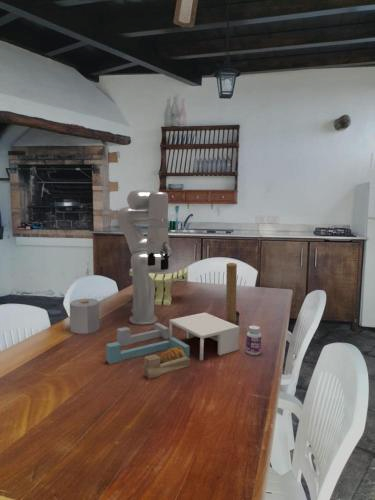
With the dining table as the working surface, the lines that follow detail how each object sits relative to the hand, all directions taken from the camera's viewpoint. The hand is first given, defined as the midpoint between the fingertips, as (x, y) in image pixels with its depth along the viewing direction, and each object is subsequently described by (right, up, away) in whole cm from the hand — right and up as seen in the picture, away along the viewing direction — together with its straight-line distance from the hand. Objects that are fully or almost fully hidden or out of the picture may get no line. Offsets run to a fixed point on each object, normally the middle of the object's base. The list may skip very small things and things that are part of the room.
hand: (157, 267), depth 150 cm
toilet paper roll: (-32, -27, +11) cm, 43 cm away
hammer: (+30, -28, +14) cm, 43 cm away
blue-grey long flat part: (-2, -31, -17) cm, 36 cm away
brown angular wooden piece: (+5, -32, -26) cm, 42 cm away
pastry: (+7, -32, -17) cm, 36 cm away
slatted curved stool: (-4, -21, +57) cm, 61 cm away
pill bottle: (+36, -31, -10) cm, 48 cm away
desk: (+17, -30, -5) cm, 35 cm away
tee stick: (-6, -28, 0) cm, 29 cm away
